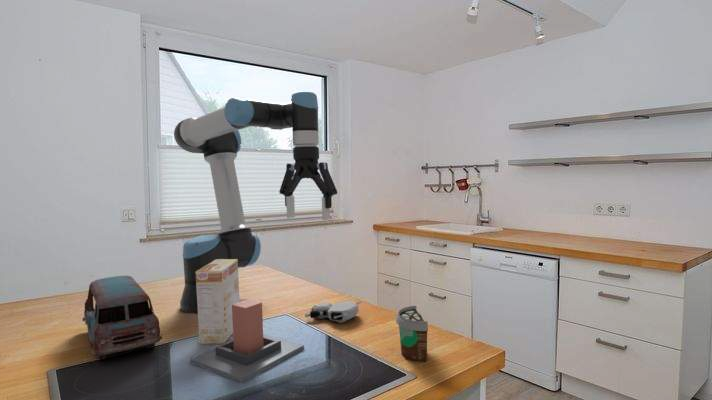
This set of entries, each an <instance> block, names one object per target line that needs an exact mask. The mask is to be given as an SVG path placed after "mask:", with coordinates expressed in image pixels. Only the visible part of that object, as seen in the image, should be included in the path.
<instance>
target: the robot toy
mask: <svg viewBox="0 0 712 400" xmlns="http://www.w3.org/2000/svg"><path fill="white" fill-rule="evenodd" d="M359 304H362V301H358V302H355V301H339V302H337V303H334V304H332V303H330V302H320V303H318V304H314V306H312V307H311V309H310V312H308V313H307V312H306V313H304V317H305V318H308V317H310V319H312V318H313V319H315V318H318V319H321V320H323V319H326V318H329V320H331V321H333V322H337V323H338V324H342V323H345V322H347V321H348V320H351V319H353V318H354V317H356V316H357V315H358V313H359Z"/></svg>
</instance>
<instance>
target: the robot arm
mask: <svg viewBox="0 0 712 400" xmlns="http://www.w3.org/2000/svg"><path fill="white" fill-rule="evenodd" d="M290 98H291V99H290V101H289V102H283V103H282V102H272V101H264V100H259V99H257V100H256V99H250V98H245V97H231V98H229V99H228V100H227V102H226V103H225V104H224V106H223V107H221V108H219V109H217V110H214V111H211V112H209V113H206V114H205V115H202V116H199V117H188V118H186V119H183V120H181V121H180V122H178V123H177V125H175V128H174V130H173V135H174V136H173V137H174V141H175V143H176V144H177V145H178V147H179V148H181V149H182V150H184V151H186V152H188V153H193V154H203V159H204V161H205V162H206V163H208V164H209V167H210V173H211V178H212V182H213V183H212V184H213V190H214V195H215V201H216V207H217V213H218V219H219V224H220V230H219V231H218V232H217V234H216V233H215V234H206V235H205V234H203V235H198V236H195V237H192V238H189V239H187V240H186V241H185V242H184V243H183V245H182V246H183V247H182V257H183V258H182V259H183V273H184V275H183V277H184V286H183V287H184V288H183V291H182V294H181V298H180V301H179V306H180V307H179V308H181V309H182V310H183V312H184V311H187V312H186V313H190V312H194V314H196V313H197V314H198V306H197V289H196V273H195V272H196V271H198V270H199V269H201V268H203V267H204V266H206V265H207V264H209V263H211V262H212V261H214V260H216V259H238V269H239V268H246V267H247V266H251V265H254V264H255V263H256V262H257V261H258V259H259V257H260V255H261V250H262V249H261V248H262V246H261V240H260V238H259V237H258V235H257V234H256V233H254V232H252V228H251V226H249V225H248V224H246V220H245V219H246V218H245V214H244V209H243V203H242V197H241V191H240V187H239V181H238V176H237V171H236V165H235V160H236V158H237V157H238V153H239V152H240V150H241V146H242V145H241V144H242V136H241V133H240V131H239V130H243V129H246V128H248V127H255V128H256V127H259V128H268V129H271V130H280V131H281V130H285V129H289V128H290V129H292V145H293V146H294V147H293V148H292V153H293V154H292V155H293V160H294V163H292V162H291V163H290V162H289V163H288V162H287V164H286V168H285V169H286V170H285V173H284V177H283V180H282V181H281V185H280V187H279V188H280V189H279V194H280V195H283V196H284V204H285V205H284V206H285V207H286V219H290V218H295V216H296V214H295V213H296V211H295V209H296V208H295V195H294V192H295V191H296V190H297V187H298V186H299V184H300V183H301V181H302V180H303V179H310V180H312V181H313V182H314V184H315V185H316V186H317V188H318V189H319V191H320V192H321V194H322V195H323V196H322V197H321V220H322V221H327V220H331V209H332V204H333V203H332V202H333V201H332V200H333V199H332V197H333V196H336V195H337V194H338V189H337V188H336V185H335V183H334V180H333V179H332V178H333V177H332V175H331V173H330V171H329V166H328V162H326V161H324V162H322V161H321V162H319V159H320V147H318V145H319V143H320V141H319V138H320V137H319V104H318V103H319V102H318V96H317V94H316V93H314V92H311V91H295V92H293V93H292V94H291V97H290ZM181 309H180V310H181ZM182 310H181V311H182Z"/></svg>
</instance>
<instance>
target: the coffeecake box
mask: <svg viewBox="0 0 712 400" xmlns="http://www.w3.org/2000/svg"><path fill="white" fill-rule="evenodd" d="M195 273H196V289H197V306H198V313H197V322H198V323H197V324H198V339H199V341H198V344H200V345H208V344H209V345H210V344H213V345H215V344H216V345H217V344H218V345H221V344H223V343H226V342H227V340H228V339H229V338H230V337H231V336H232V335H233V320H232V304H235V303H238V302H241V301H240V300H241V299H240V282H239V268H238V259H216V260H214V261H212V262H211V263H209V264H207V265H206V266H204V267H203V268H201V269H199V270H198V271H196V272H195Z"/></svg>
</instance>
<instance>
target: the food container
mask: <svg viewBox="0 0 712 400" xmlns="http://www.w3.org/2000/svg"><path fill="white" fill-rule="evenodd" d="M395 323H396V324H397V325H398V329H399V340H400V350H401V355H402V357H403V358H404V359H406V360H408V361H412V362H416V363H417V362H418V363H427V362H428V360H427V359H428V355H427V354H428V332H429V325H428V321H426V320H425V321H424V318H423V317H422V315H421V314H420V313H419V311H418V310H417V305H410V306H404V307H403V308H401V309H399V310H398V312H397V314H396V319H395Z"/></svg>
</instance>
